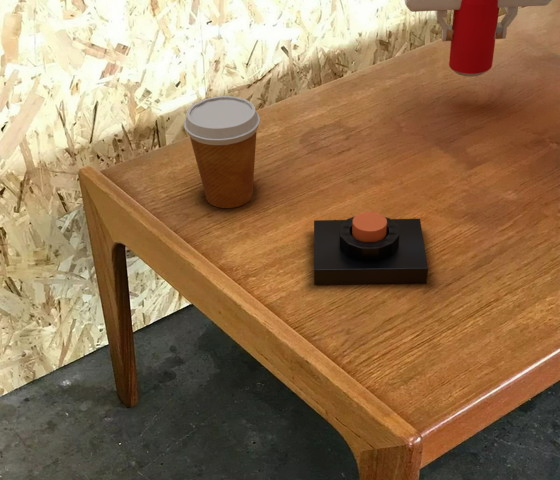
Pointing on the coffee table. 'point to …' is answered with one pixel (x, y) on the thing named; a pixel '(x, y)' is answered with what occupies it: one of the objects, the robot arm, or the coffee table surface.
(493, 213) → the coffee table surface
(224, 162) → the disposable coffee cup
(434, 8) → the robot arm
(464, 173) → the coffee table surface
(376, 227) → the button
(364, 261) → the housing
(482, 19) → the beverage can
